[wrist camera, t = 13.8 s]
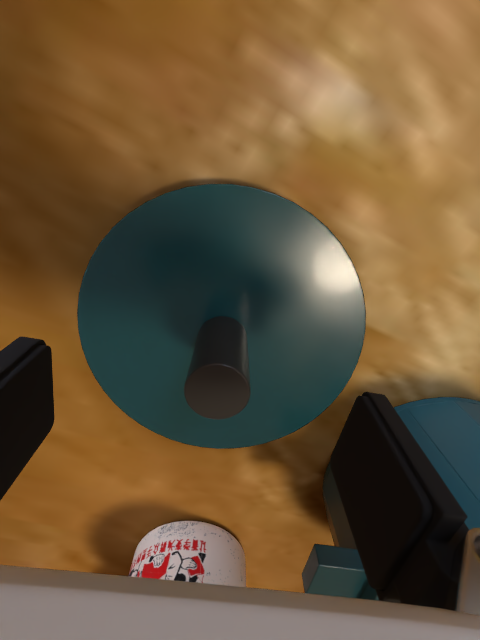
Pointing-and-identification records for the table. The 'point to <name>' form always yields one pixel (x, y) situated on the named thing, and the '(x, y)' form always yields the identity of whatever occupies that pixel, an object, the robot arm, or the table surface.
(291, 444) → the table surface
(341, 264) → the cooker lid
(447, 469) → the cooker
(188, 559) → the teacup with lid
